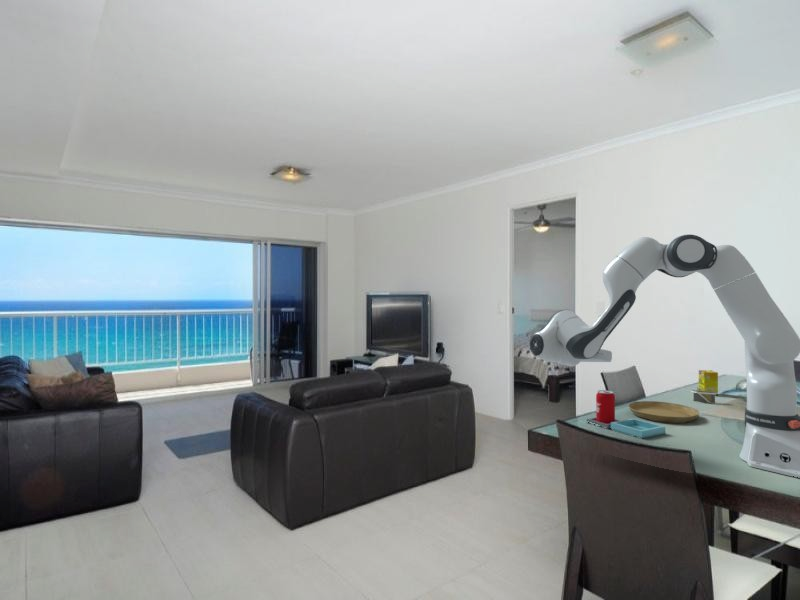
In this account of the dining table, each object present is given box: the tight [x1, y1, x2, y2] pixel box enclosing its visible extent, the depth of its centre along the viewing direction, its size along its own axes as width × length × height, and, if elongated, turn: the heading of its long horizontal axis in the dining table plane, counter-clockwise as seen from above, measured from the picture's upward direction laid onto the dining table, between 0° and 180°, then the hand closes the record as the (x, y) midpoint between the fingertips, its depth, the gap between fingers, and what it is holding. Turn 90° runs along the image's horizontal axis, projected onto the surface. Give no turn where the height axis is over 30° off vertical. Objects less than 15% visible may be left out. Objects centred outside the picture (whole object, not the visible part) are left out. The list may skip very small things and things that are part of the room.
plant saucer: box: [627, 400, 700, 424], centre depth 182 cm, size 24×24×3 cm
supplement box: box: [698, 369, 719, 397], centre depth 222 cm, size 6×6×11 cm
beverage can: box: [595, 389, 616, 424], centre depth 171 cm, size 6×6×12 cm
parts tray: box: [610, 418, 666, 439], centre depth 161 cm, size 12×12×2 cm
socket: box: [586, 416, 621, 428], centre depth 171 cm, size 9×9×2 cm
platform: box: [690, 386, 719, 404], centre depth 205 cm, size 12×18×7 cm, turn 61°
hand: (596, 359), depth 164 cm, fingers open, 8 cm apart
